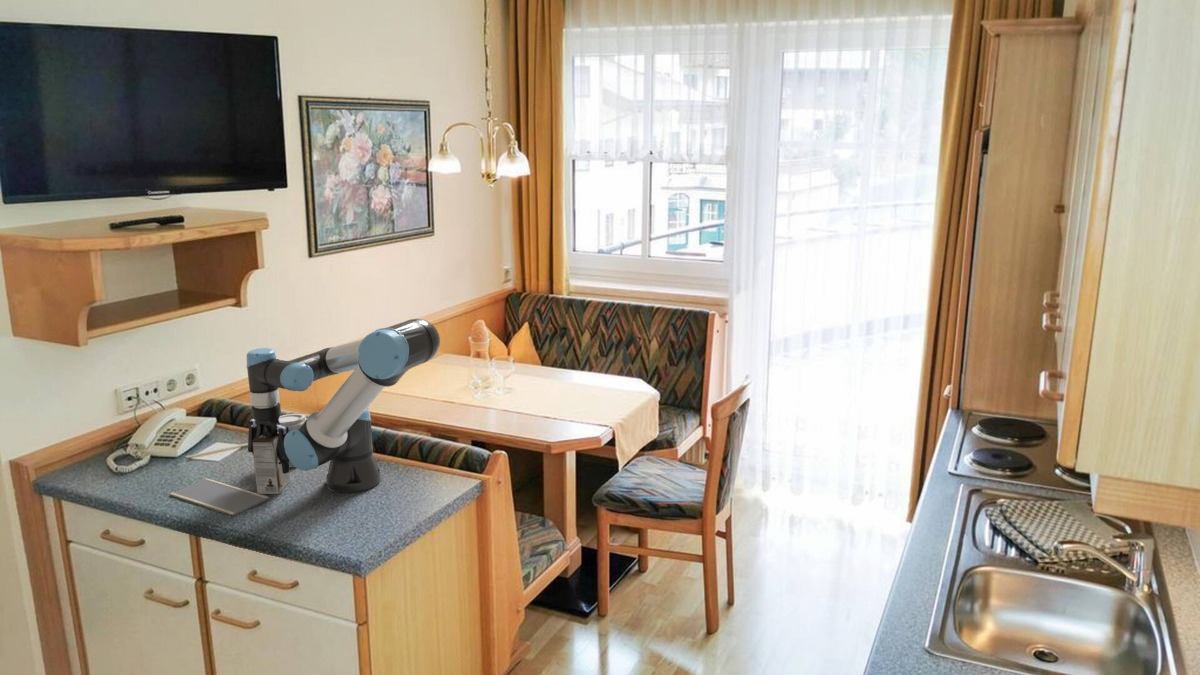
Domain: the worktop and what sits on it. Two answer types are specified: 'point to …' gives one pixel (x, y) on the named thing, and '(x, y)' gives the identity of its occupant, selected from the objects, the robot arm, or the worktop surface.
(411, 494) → the worktop surface
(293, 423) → the disposable coffee cup
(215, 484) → the felt mat
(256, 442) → the coffee box
